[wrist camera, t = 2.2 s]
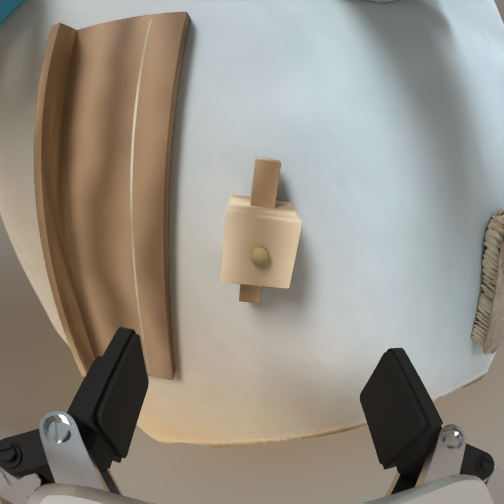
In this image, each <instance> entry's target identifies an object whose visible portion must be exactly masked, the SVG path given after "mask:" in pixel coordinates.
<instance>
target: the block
mask: <svg viewBox="0 0 504 504" xmlns="http://www.w3.org/2000/svg"><path fill="white" fill-rule="evenodd" d="M24 1H25V0H0V24H1V23H2V22H3V21H4V20H5V19H6V18H7V17H8V16H9V15H10V14H11V13H12V12H13V11H14V10H15V9H16V8H17V7H18V6H19V5H20V4H21V3H22V2H24Z"/></svg>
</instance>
